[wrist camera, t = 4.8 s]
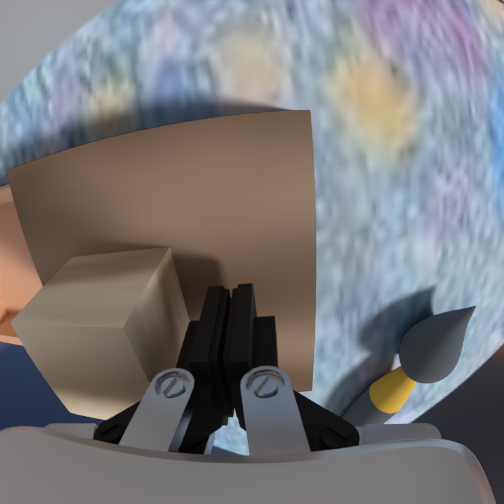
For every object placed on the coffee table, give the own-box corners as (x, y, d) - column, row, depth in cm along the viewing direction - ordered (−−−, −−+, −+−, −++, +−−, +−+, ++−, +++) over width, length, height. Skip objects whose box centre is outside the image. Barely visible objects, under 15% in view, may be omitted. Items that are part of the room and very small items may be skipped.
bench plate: (69, 148, 16) (6, 171, 10) (293, 110, 15) (310, 110, 10) (123, 329, 22) (94, 385, 17) (302, 324, 21) (311, 390, 16)
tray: (-31, 198, 17) (-61, 215, 14) (70, 163, 16) (32, 180, 13) (13, 314, 22) (-8, 339, 19) (117, 319, 22) (97, 354, 18)
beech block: (72, 257, 12) (10, 322, 8) (169, 246, 12) (123, 327, 7) (107, 340, 15) (70, 412, 10) (195, 341, 14) (174, 428, 10)
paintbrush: (363, 430, 28) (371, 467, 24) (323, 430, 28) (328, 469, 24) (466, 287, 20) (498, 325, 15) (422, 275, 19) (454, 318, 15)
